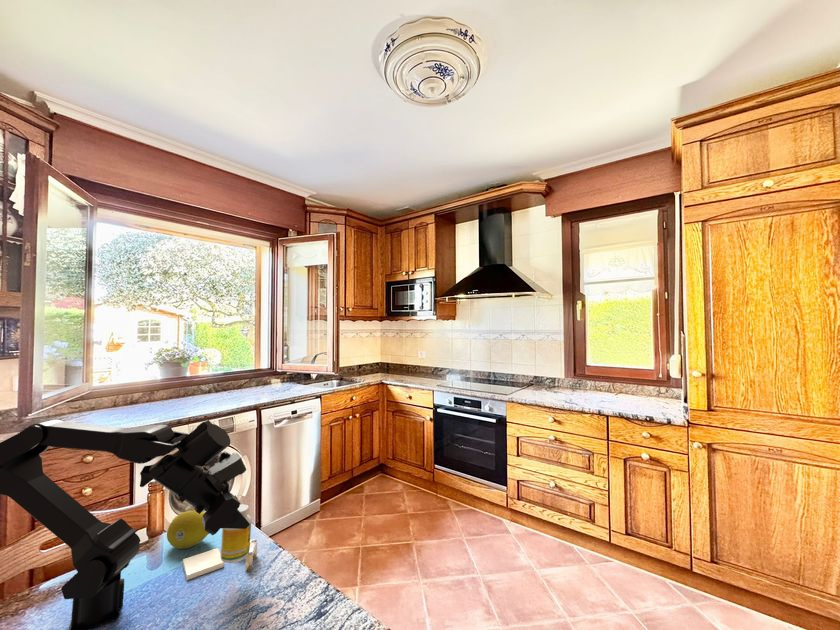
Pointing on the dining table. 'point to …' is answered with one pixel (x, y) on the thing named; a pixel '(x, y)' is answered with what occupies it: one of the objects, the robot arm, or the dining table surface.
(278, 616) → the dining table surface
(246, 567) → the bent steel bracket
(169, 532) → the lemon
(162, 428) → the robot arm
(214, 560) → the cream coaster
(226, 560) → the supplement bottle
